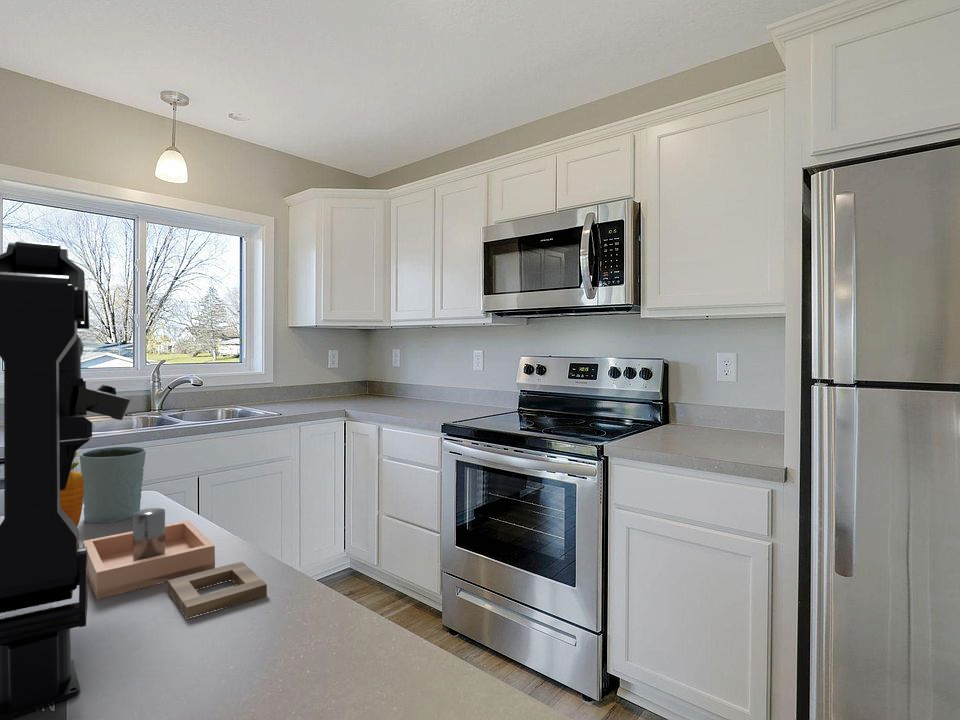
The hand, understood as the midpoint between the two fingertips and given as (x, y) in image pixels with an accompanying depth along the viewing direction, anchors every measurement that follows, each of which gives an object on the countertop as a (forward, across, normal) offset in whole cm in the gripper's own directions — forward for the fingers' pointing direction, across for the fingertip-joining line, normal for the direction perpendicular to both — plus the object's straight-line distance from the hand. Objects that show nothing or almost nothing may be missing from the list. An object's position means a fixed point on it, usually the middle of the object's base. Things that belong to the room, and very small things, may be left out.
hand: (57, 482), depth 75 cm
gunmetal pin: (+12, -5, -10) cm, 16 cm away
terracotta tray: (+13, -5, -10) cm, 17 cm away
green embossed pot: (+13, +25, -10) cm, 30 cm away
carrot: (+13, +14, -2) cm, 19 cm away
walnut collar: (+13, -20, -15) cm, 28 cm away
